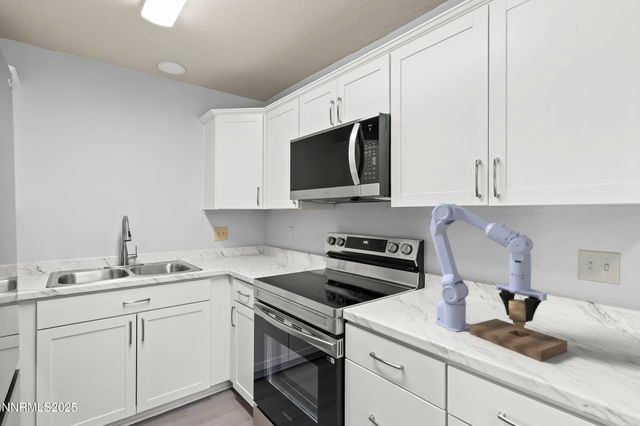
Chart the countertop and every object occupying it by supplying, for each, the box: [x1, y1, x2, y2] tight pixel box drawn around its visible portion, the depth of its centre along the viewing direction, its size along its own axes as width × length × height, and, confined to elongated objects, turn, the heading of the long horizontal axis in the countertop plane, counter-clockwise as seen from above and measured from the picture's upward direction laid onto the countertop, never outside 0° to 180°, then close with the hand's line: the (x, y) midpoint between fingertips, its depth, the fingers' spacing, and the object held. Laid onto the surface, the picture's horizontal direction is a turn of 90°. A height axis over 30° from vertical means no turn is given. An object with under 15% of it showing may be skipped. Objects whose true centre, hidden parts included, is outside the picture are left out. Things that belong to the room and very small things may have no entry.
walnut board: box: [469, 318, 568, 362], centre depth 101 cm, size 22×14×3 cm, turn 28°
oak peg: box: [508, 298, 529, 329], centre depth 100 cm, size 6×6×8 cm
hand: (519, 317), depth 100 cm, fingers closed on oak peg, 5 cm apart
